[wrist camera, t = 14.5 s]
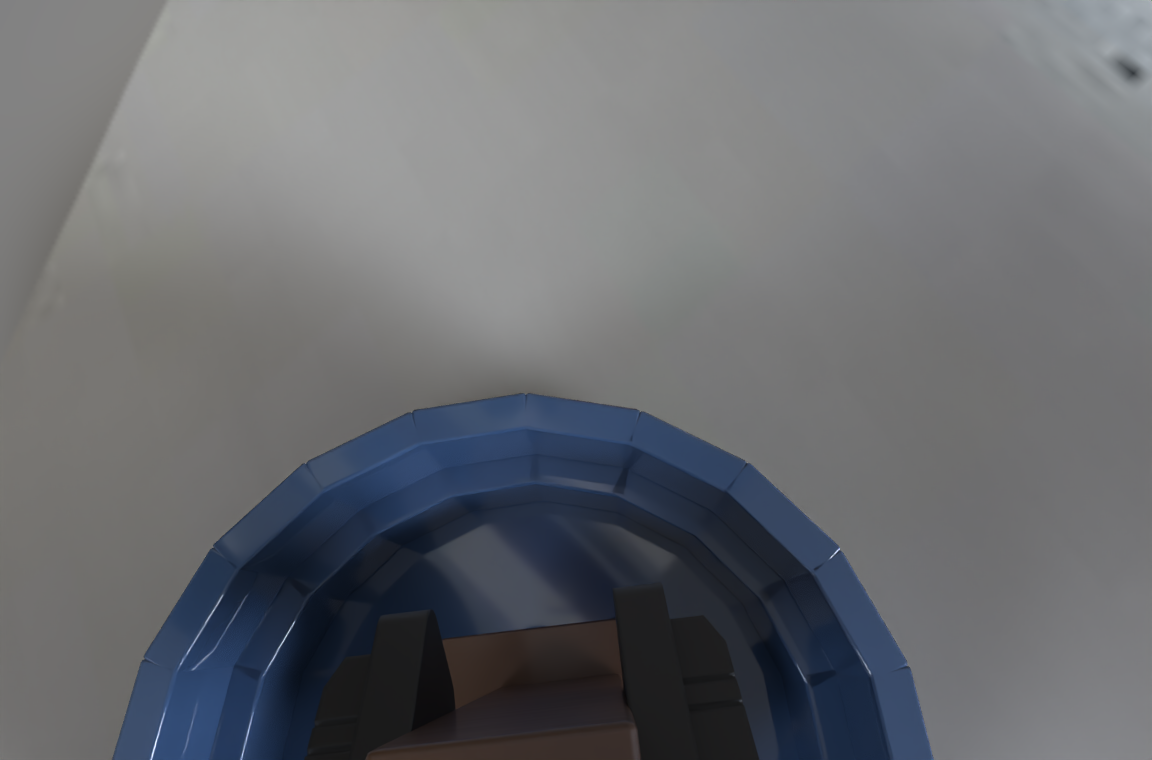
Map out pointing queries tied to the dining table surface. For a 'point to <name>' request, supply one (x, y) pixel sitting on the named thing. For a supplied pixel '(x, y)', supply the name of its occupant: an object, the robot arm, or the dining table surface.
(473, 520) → the bowl
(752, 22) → the dining table surface
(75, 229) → the dining table surface
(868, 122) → the dining table surface
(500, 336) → the dining table surface
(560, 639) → the square wall hook
